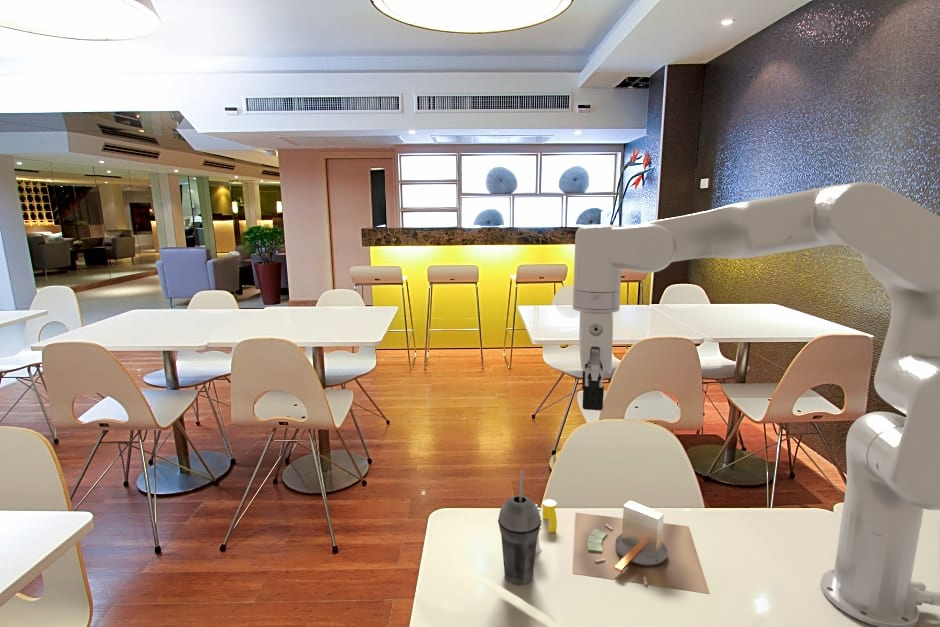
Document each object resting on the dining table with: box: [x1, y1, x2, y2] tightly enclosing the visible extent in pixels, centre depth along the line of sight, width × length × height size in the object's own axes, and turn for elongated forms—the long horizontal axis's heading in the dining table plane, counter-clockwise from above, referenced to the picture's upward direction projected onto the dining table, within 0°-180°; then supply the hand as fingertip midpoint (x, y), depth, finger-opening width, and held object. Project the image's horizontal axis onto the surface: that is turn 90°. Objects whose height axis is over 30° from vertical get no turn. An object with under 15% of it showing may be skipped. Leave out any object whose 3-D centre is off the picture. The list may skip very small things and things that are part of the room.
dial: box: [615, 500, 667, 572], centre depth 91 cm, size 14×9×8 cm, turn 137°
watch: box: [542, 498, 558, 533], centre depth 102 cm, size 6×3×6 cm, turn 6°
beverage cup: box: [497, 470, 542, 586], centre depth 86 cm, size 7×7×20 cm
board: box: [572, 512, 711, 595], centre depth 95 cm, size 22×19×2 cm
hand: (591, 399), depth 88 cm, fingers open, 9 cm apart
